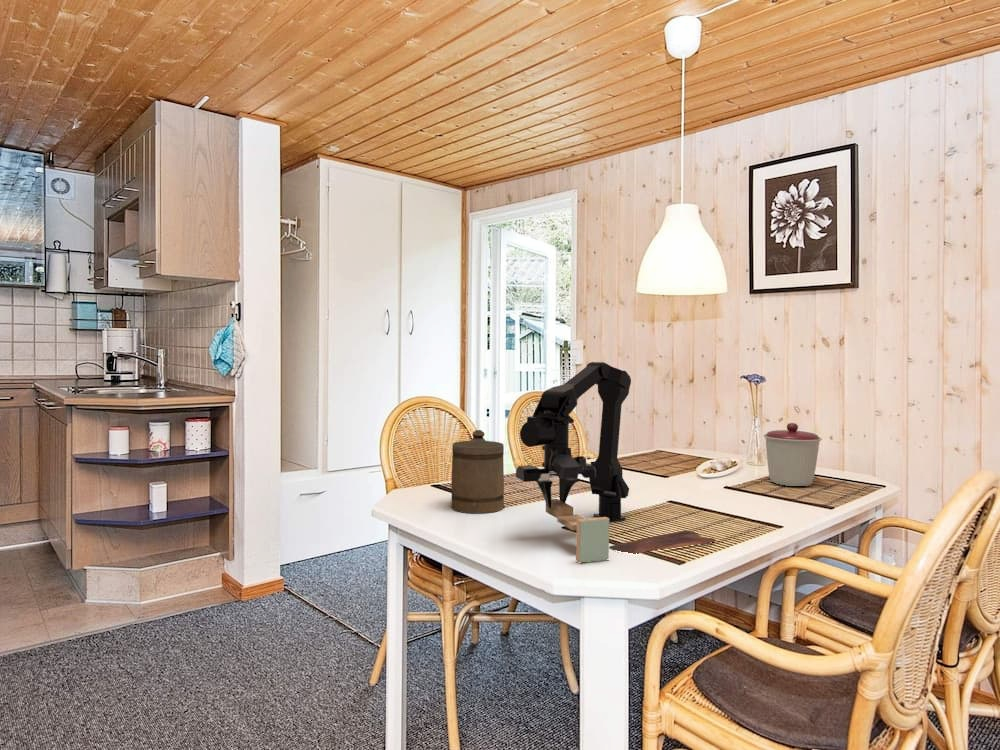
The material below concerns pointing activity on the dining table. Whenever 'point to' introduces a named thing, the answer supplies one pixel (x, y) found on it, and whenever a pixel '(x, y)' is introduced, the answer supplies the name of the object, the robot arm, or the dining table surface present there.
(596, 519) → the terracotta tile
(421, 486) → the dining table surface
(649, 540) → the wooden tablet
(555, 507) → the tan paddle
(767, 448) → the canister
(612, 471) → the robot arm
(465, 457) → the wooden container
